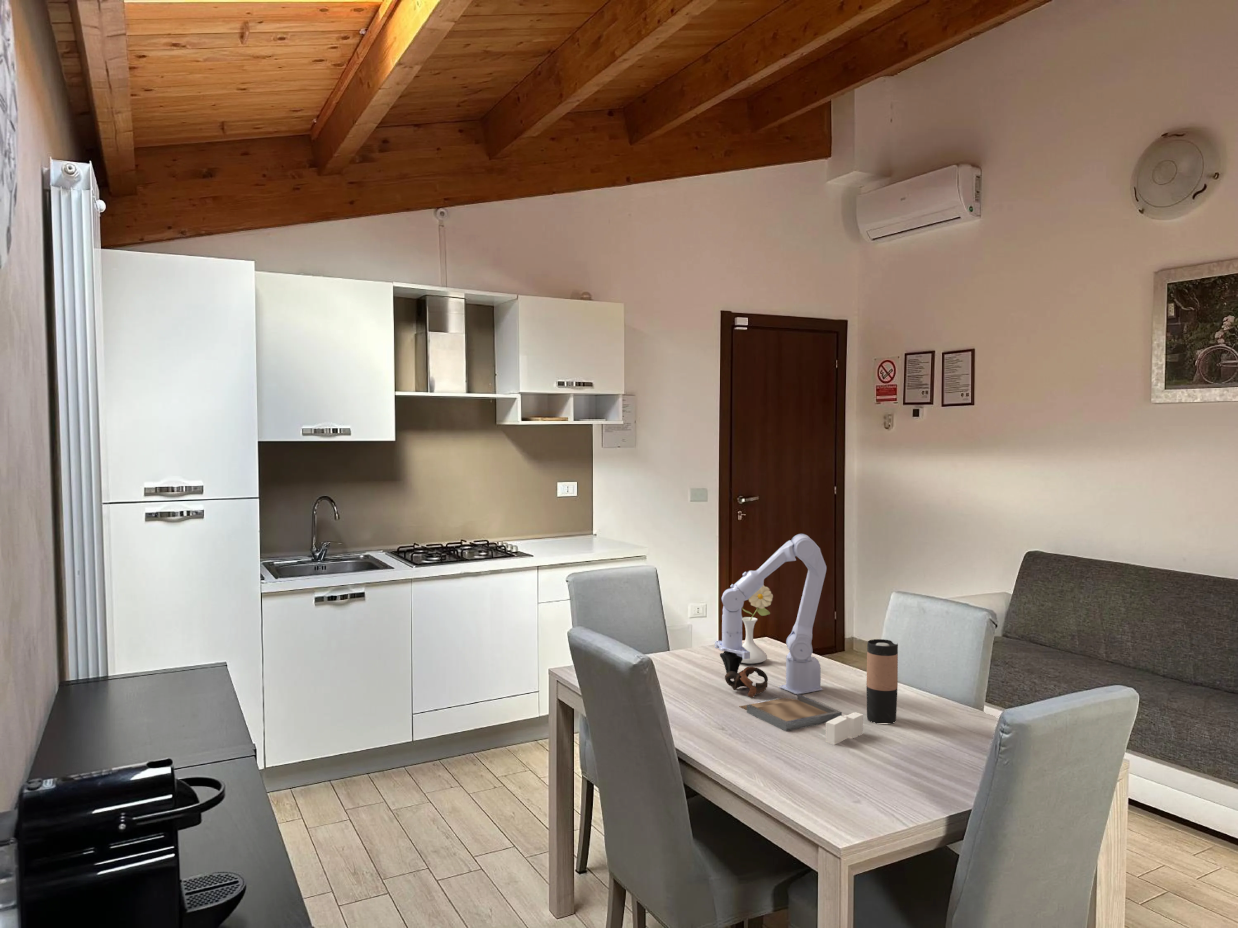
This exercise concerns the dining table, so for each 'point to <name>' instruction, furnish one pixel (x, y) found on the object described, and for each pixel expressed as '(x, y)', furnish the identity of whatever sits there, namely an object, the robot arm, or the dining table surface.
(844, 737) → the white stepped block
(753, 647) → the flower in vase
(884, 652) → the travel mug
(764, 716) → the curbs
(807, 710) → the brown flat board
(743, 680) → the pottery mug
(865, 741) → the dining table surface
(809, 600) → the robot arm
